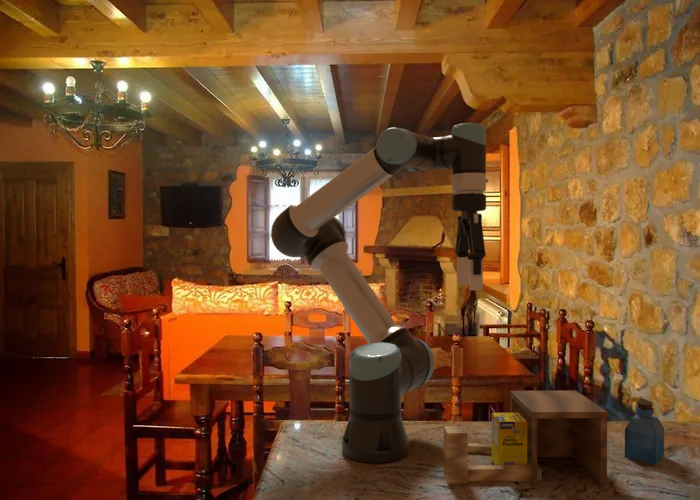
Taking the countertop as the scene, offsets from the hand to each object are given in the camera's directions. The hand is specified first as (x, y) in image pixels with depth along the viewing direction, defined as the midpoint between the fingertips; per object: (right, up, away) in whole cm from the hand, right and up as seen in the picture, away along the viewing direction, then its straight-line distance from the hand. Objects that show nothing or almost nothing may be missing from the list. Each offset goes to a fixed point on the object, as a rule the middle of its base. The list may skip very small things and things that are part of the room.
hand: (469, 287), depth 127 cm
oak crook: (+1, -37, -12) cm, 39 cm away
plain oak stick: (+3, -37, -2) cm, 37 cm away
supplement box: (+6, -37, -11) cm, 39 cm away
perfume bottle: (+37, -37, -5) cm, 53 cm away
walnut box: (+16, -37, -11) cm, 41 cm away
